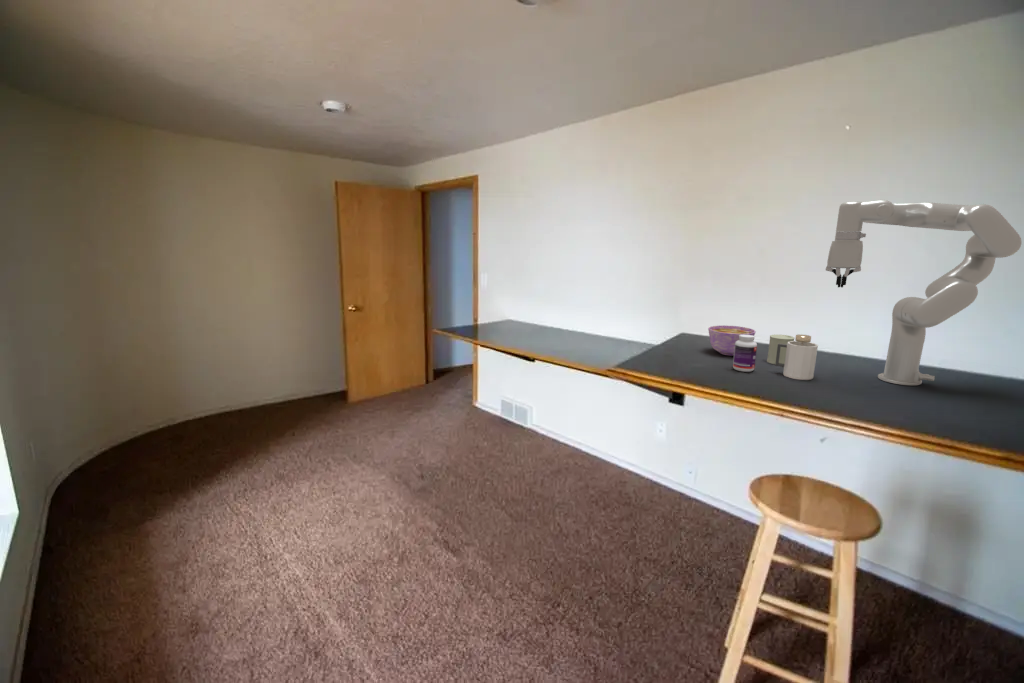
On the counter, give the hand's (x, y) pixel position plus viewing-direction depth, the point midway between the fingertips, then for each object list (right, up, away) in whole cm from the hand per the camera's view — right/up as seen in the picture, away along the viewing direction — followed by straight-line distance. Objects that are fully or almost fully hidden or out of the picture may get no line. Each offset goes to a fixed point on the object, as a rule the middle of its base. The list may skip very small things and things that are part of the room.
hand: (840, 286), depth 168 cm
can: (-7, -30, +27) cm, 41 cm away
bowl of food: (-21, -26, +43) cm, 55 cm away
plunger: (-11, -32, +7) cm, 34 cm away
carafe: (-12, -34, +9) cm, 37 cm away
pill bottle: (-28, -32, +17) cm, 46 cm away
